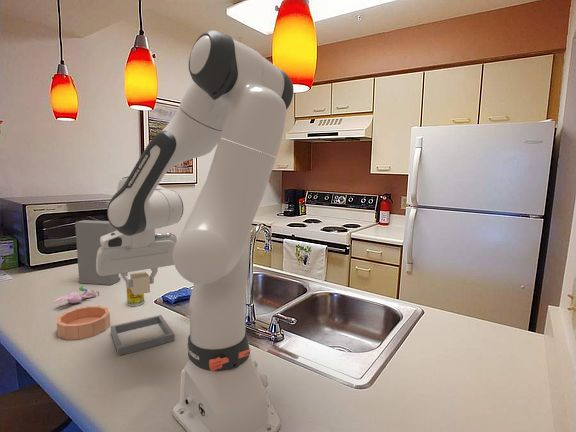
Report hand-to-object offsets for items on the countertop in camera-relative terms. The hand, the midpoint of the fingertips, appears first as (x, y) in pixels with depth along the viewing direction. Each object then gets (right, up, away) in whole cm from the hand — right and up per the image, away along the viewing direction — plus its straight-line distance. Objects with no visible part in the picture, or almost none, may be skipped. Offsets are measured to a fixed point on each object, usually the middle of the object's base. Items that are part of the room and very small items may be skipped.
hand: (140, 285), depth 91 cm
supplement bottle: (-12, -12, +24) cm, 30 cm away
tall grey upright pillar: (-36, -8, +44) cm, 58 cm away
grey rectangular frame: (0, -15, +2) cm, 15 cm away
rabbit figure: (-33, -11, +24) cm, 42 cm away
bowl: (-19, -14, +6) cm, 25 cm away
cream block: (0, -2, 0) cm, 2 cm away
